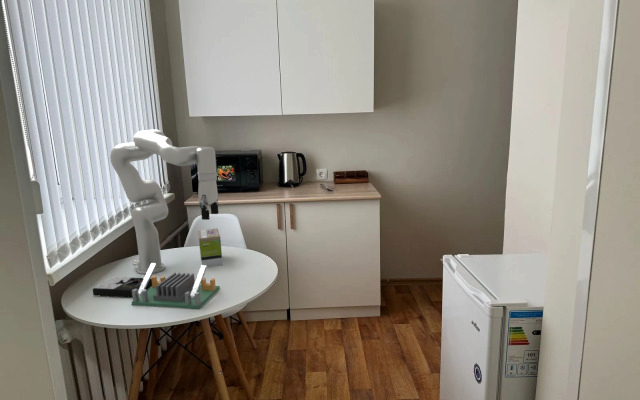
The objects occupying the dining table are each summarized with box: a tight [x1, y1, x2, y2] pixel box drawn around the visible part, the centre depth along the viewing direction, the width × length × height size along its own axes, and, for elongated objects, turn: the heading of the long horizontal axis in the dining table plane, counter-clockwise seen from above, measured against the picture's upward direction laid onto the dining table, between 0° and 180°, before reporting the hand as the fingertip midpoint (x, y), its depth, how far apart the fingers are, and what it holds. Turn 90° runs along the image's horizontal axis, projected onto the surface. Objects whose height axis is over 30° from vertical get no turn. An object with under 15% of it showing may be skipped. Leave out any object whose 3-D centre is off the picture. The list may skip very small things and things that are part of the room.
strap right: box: [189, 264, 208, 299], centre depth 169 cm, size 2×15×1 cm
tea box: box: [197, 228, 223, 268], centre depth 213 cm, size 15×10×15 cm
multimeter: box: [92, 276, 152, 299], centre depth 182 cm, size 13×19×5 cm
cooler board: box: [131, 272, 221, 310], centre depth 174 cm, size 28×19×7 cm
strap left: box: [136, 263, 156, 296], centre depth 173 cm, size 2×15×1 cm
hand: (210, 216), depth 186 cm, fingers open, 9 cm apart
